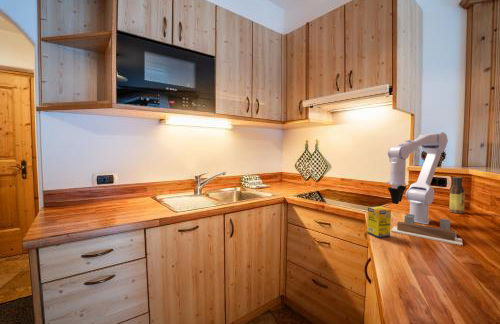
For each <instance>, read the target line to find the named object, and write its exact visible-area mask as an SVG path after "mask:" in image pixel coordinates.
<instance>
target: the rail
mask: <svg viewBox="0 0 500 324" xmlns="http://www.w3.org/2000/svg"><path fill="white" fill-rule="evenodd" d="M396 227H397V230H399V231H405V232H410V233H415V234H420V235H425V236H431V237H436V238H441V239H446V240H452V241H455V232H456V230H452V229H450V230H446V229H440V227H434V226H428V225H424V224H422V225H421V224H418V223H417V224H416V223H414V224H411V223H405V222H403V221H398V222H397V225H396Z"/></svg>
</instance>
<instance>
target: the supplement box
mask: <svg viewBox="0 0 500 324" xmlns="http://www.w3.org/2000/svg"><path fill="white" fill-rule="evenodd" d="M391 217H392V210H391V209H390V208H387V207H383V206H368V207H367V219H366V220H367V223H366V226H367V227H366V234H369V235H371V236H373V237H375V238H377V239H380V238H381V239H382V238H390V237H391Z"/></svg>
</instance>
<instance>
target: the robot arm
mask: <svg viewBox="0 0 500 324" xmlns="http://www.w3.org/2000/svg"><path fill="white" fill-rule="evenodd" d="M448 141H449V140H448V136H447V134H446V133H445V132H442V131H441V132H432V133H422V134H419V135H418V137H417V138H415V139H414V140H412V139H406V140H405V141H404V142H402V143H399V144H398V145H396V146H391V147H390V148H389V150H388V152H387V156H388V158H389V163H390V177H389V178H390V180H389V181H387V182H386V183H387V184H390V185H391V187H390V186H389V187H387V189H388V192H389V194H390V199H391V203H392V204H393V205H398V204H400V202H402V200H403V196H404V192H405V190H406V189H407V185H406V171H407V170H406V168H407V167H406V165H407V161H406V160H407V159H408V158H409V157H410V155H411V154H412V153H414V152H417V150H418V148H419V147H421V149H422V150H423V152H424V153H426V157H425V159H424V162H423V164H422V167H421V170H420V173H419V176H418V178H417V180H416V182H413V183H412V184H410V186H409V188H408V189H407V190H406V192H405V198H406V200H407V201H408V202H409V214H413V215H415V219H414V223H415V224H416V223H417V224H422V225H429V223H430V221H431V220H430V219H429V206H430V205H431V204H432V203H433V202H434V199H435V190H434V188H433V187H432V186H431V183H432V180H433V178H434V175H435V173H436V170H437V167H438V165H439V161H440V160H441V156H442V153H444V152H445V151H446V147H447V144H448Z"/></svg>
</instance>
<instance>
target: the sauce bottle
mask: <svg viewBox="0 0 500 324" xmlns="http://www.w3.org/2000/svg"><path fill="white" fill-rule="evenodd" d="M465 193H466V191H465V189H464V186H463V177H461V176H453V177H452V185H451V186H450V188H449V202H448V203H449V205H448V207H449V212H450V213H452V214H461V215H462V214H464V213H465V202H466V201H465V200H466V199H465V198H466V197H465V195H466V194H465Z"/></svg>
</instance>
